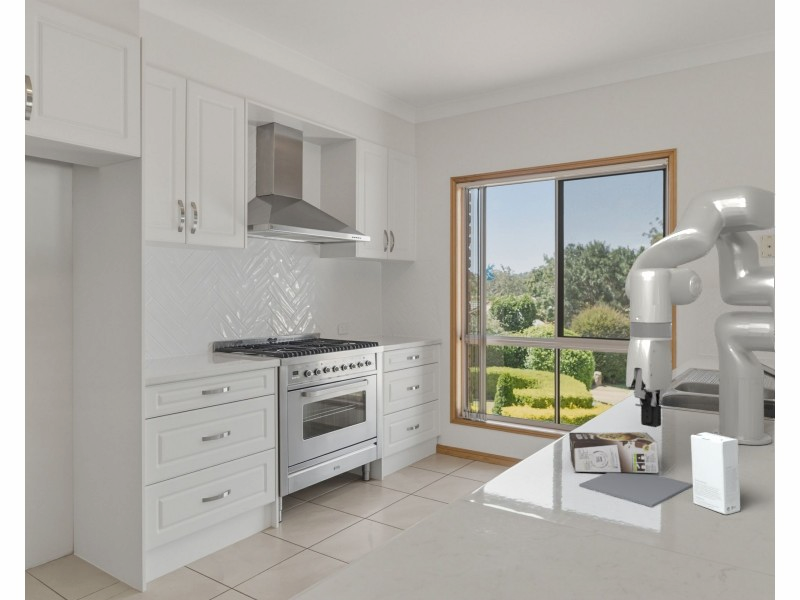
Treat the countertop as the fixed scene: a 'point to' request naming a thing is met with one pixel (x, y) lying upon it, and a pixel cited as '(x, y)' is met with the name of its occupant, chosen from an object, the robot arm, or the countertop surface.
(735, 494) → the skincare box
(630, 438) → the coffee box
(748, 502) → the countertop surface
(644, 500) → the mat
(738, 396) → the robot arm
